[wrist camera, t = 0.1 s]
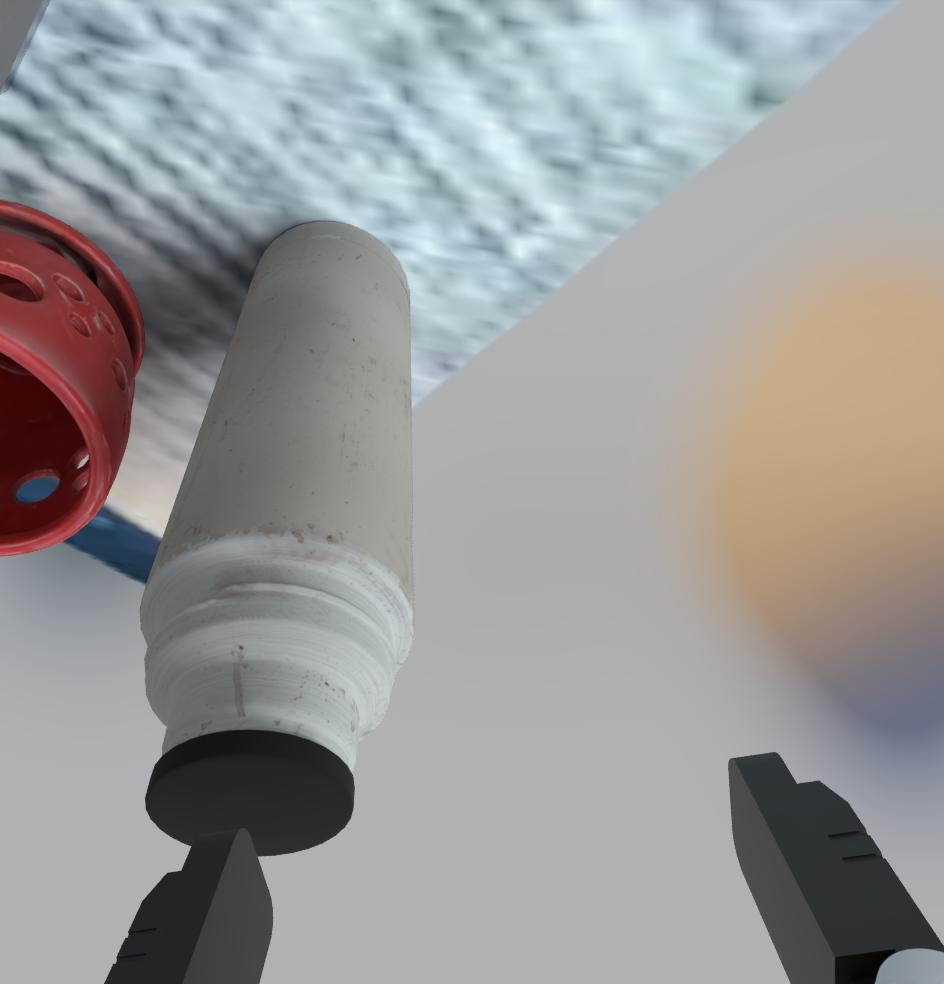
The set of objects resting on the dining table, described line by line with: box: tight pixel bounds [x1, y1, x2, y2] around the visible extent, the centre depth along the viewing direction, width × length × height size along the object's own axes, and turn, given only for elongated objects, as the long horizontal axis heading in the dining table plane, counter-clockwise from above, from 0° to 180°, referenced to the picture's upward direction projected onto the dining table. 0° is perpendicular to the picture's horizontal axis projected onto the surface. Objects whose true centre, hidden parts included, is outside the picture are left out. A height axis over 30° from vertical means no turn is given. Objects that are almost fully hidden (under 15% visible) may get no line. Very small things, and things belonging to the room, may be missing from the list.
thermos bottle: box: [140, 222, 415, 857], centre depth 29 cm, size 8×8×28 cm
